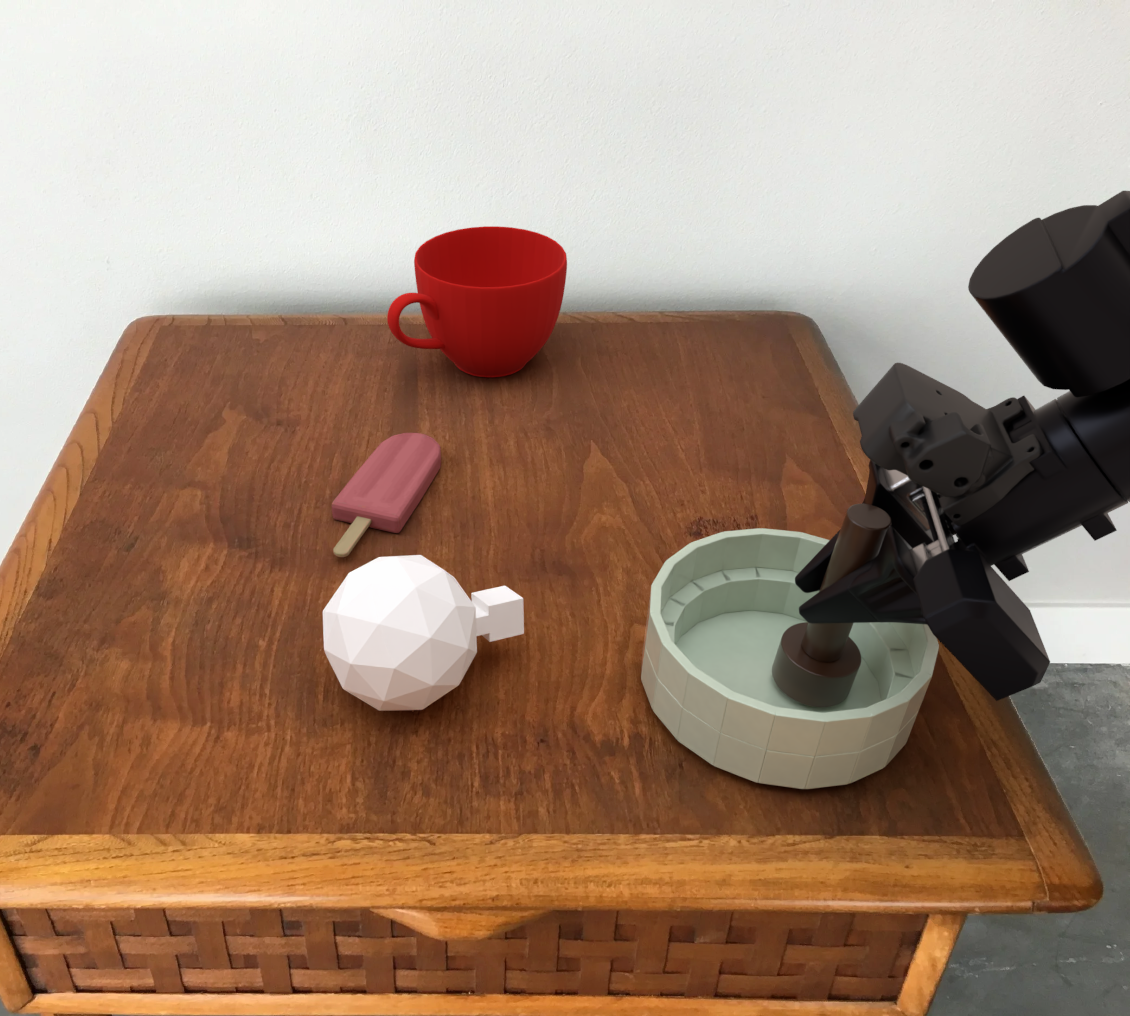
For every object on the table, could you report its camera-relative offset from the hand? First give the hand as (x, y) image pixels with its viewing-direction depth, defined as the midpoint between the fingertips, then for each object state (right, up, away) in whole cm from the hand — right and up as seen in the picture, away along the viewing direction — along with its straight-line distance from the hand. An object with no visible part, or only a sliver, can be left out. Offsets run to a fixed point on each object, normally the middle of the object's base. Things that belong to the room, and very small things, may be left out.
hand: (801, 600), depth 56 cm
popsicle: (-24, +5, +20) cm, 32 cm away
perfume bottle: (-21, -6, +5) cm, 22 cm away
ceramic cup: (-17, +18, +35) cm, 43 cm away
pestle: (+2, -5, +3) cm, 6 cm away
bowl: (0, -6, +4) cm, 7 cm away
